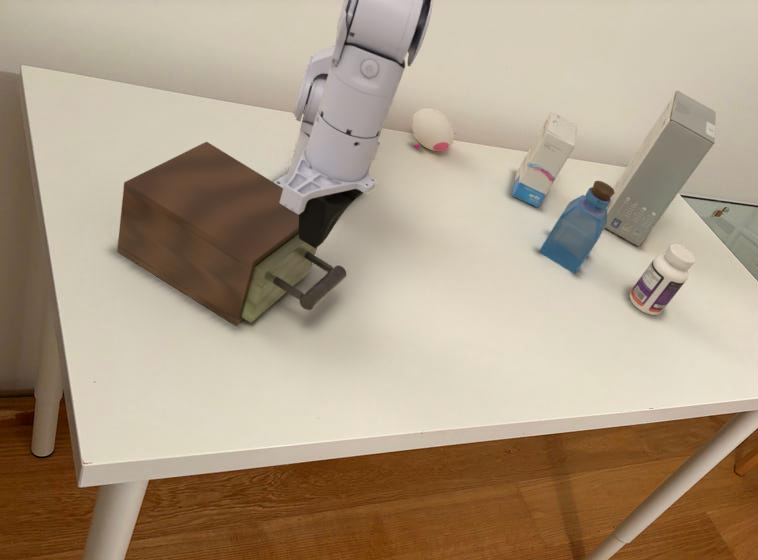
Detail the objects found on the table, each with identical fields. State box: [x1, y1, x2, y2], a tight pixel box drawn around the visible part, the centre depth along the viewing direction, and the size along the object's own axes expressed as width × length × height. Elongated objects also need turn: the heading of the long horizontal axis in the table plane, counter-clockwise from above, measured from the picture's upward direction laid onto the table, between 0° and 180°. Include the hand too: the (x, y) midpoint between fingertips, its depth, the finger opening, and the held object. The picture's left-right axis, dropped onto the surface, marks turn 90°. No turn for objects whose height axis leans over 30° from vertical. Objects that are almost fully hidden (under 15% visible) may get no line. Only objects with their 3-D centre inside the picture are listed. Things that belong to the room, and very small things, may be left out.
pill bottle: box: [629, 243, 696, 316], centre depth 103 cm, size 5×5×10 cm
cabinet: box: [116, 141, 299, 327], centre depth 75 cm, size 15×13×9 cm
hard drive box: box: [604, 90, 717, 247], centre depth 117 cm, size 16×8×20 cm, turn 160°
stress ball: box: [411, 107, 456, 152], centre depth 113 cm, size 8×8×7 cm
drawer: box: [241, 233, 347, 324], centre depth 75 cm, size 18×11×7 cm, turn 66°
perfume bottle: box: [538, 180, 615, 275], centre depth 103 cm, size 6×6×12 cm
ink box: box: [511, 111, 578, 209], centre depth 113 cm, size 9×5×12 cm, turn 168°
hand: (310, 240), depth 71 cm, fingers closed
